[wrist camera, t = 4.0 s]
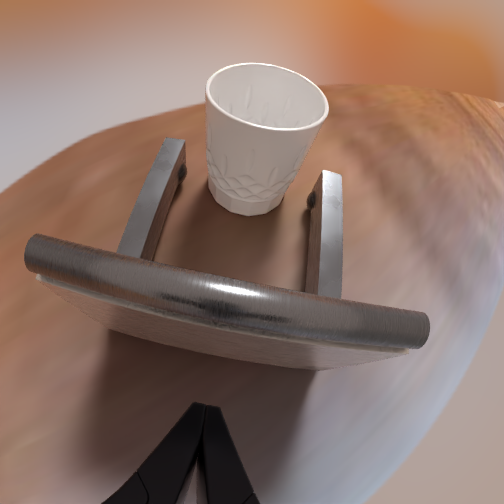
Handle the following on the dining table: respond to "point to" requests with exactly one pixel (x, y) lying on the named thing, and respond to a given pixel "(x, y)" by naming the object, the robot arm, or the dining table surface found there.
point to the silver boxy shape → (226, 290)
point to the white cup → (258, 133)
